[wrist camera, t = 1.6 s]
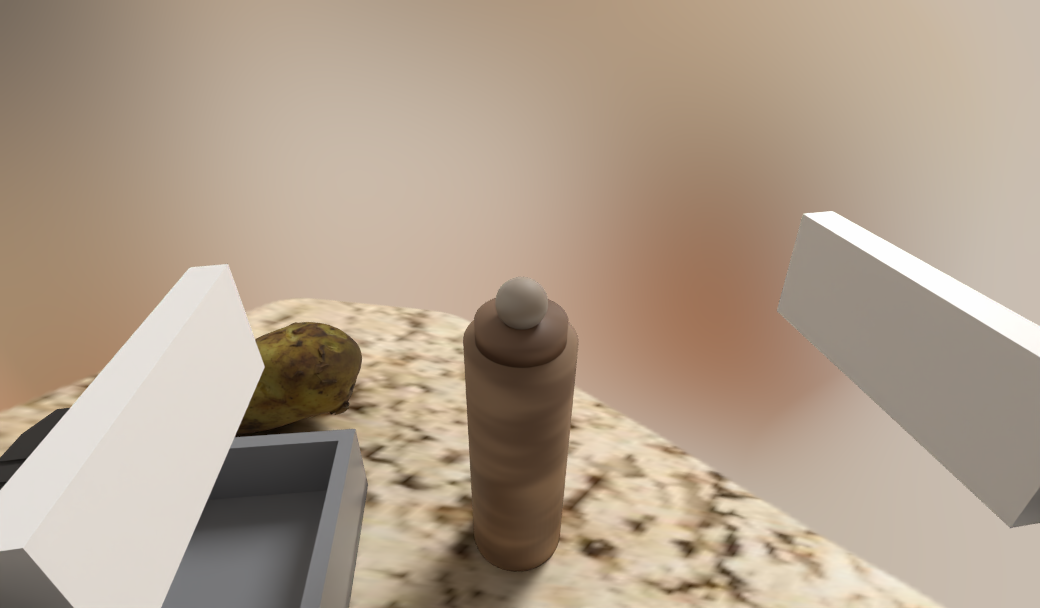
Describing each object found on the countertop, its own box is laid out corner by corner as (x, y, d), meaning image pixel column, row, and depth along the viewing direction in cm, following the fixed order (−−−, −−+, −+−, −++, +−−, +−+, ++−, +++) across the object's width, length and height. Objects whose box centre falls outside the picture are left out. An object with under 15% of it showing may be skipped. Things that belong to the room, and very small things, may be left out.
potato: (235, 371, 42) (203, 286, 37) (386, 397, 40) (371, 309, 35) (153, 452, 35) (103, 358, 30) (331, 488, 33) (303, 393, 28)
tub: (35, 749, 22) (-33, 699, 19) (165, 501, 32) (132, 444, 29) (332, 713, 23) (308, 661, 20) (367, 484, 33) (355, 428, 30)
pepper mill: (475, 575, 28) (461, 319, 19) (472, 496, 32) (459, 253, 23) (567, 566, 29) (596, 312, 19) (552, 489, 33) (571, 249, 24)
